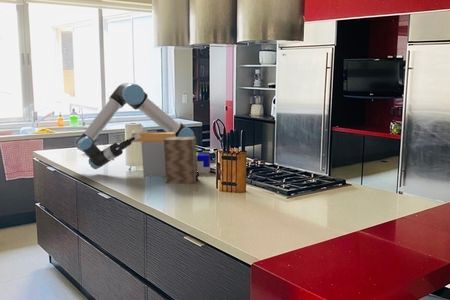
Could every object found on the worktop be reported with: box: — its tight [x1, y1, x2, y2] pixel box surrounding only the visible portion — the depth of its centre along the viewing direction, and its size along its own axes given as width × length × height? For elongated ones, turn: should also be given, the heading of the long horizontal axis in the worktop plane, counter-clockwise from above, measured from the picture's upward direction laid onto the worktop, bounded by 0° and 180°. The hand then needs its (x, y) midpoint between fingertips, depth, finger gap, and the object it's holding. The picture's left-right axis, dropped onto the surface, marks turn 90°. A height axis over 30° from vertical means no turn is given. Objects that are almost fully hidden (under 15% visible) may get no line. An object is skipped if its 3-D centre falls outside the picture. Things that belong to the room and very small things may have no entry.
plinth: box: [140, 142, 166, 177], centre depth 268 cm, size 16×9×19 cm, turn 82°
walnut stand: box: [164, 136, 198, 184], centre depth 251 cm, size 15×9×23 cm, turn 82°
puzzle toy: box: [196, 151, 211, 174], centre depth 274 cm, size 10×10×10 cm
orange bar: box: [131, 132, 176, 143], centre depth 266 cm, size 24×4×4 cm, turn 82°
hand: (143, 132), depth 266 cm, fingers open, 13 cm apart
